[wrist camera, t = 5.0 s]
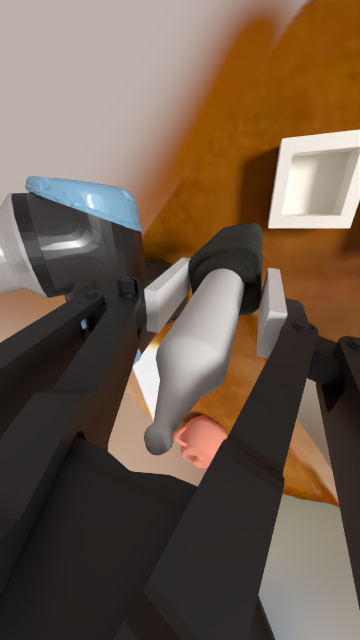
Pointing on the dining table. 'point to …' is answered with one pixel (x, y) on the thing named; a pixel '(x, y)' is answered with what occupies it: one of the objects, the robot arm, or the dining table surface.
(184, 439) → the teapot
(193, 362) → the candle
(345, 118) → the dining table surface
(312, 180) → the socket block
